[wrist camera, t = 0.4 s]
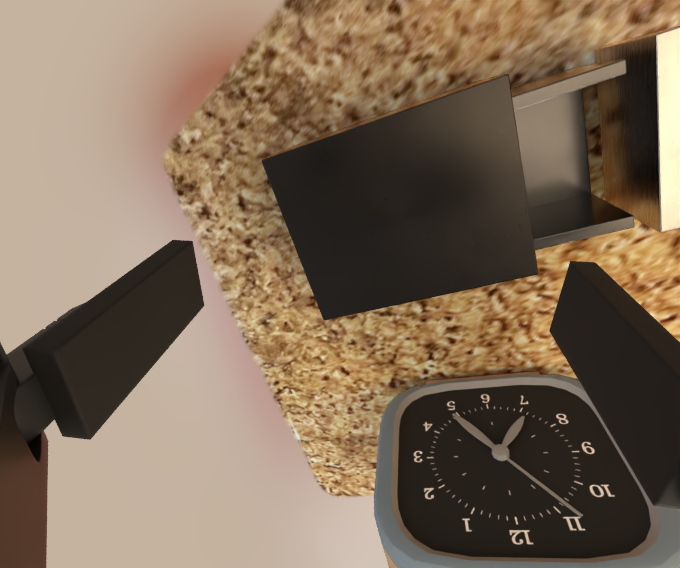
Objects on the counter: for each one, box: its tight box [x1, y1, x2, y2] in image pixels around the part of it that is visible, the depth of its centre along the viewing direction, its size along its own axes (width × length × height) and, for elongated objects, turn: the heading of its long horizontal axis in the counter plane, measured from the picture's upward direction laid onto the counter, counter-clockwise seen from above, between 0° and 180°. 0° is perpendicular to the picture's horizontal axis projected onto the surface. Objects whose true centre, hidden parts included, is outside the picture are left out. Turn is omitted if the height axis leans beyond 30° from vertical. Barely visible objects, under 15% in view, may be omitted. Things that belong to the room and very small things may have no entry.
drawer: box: [511, 26, 680, 250], centre depth 27 cm, size 19×11×8 cm, turn 109°
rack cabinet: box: [262, 74, 538, 320], centre depth 31 cm, size 16×13×10 cm
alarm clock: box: [374, 371, 680, 568], centre depth 34 cm, size 21×10×22 cm, turn 104°
